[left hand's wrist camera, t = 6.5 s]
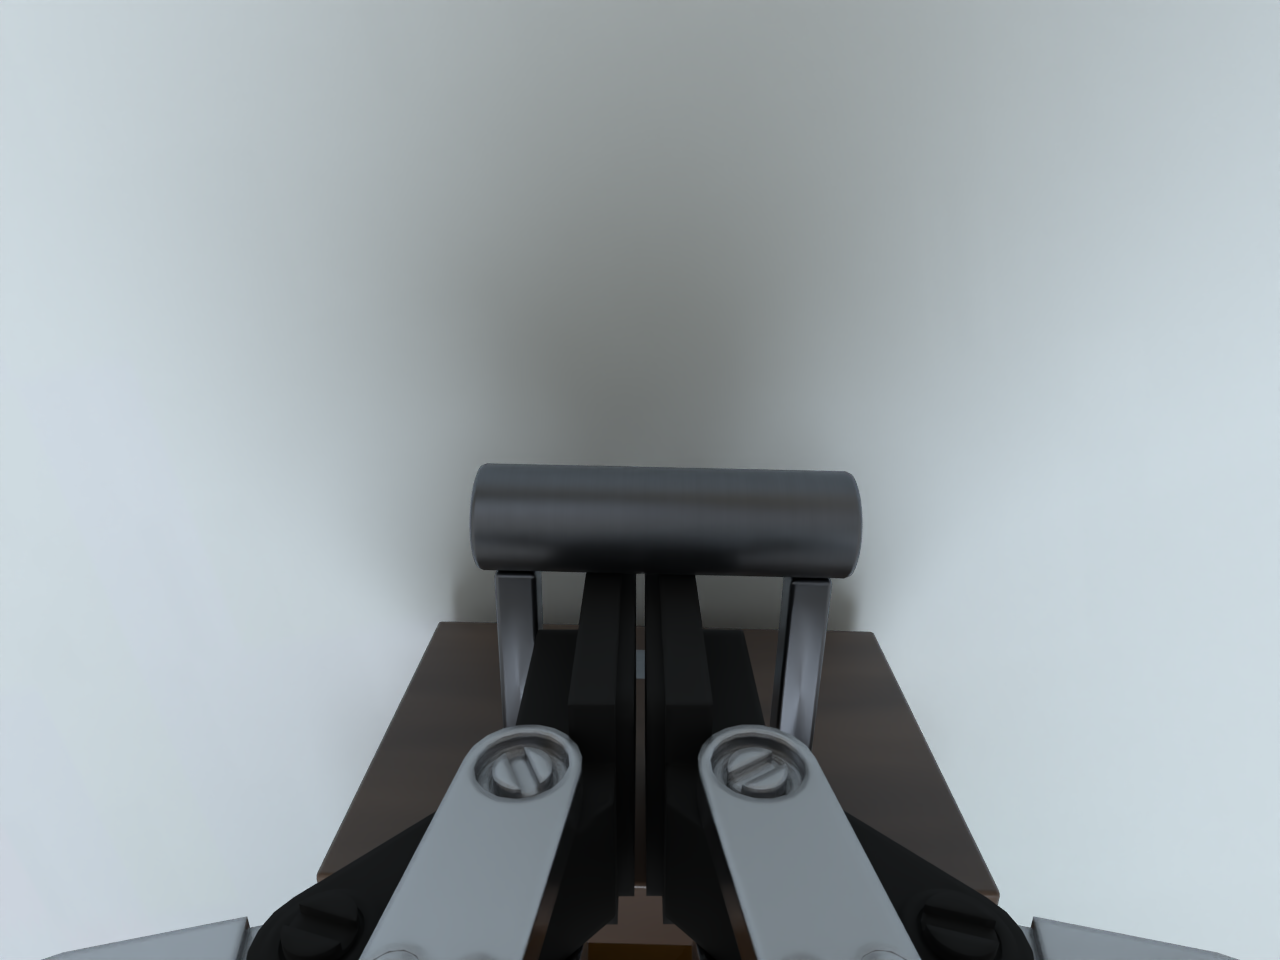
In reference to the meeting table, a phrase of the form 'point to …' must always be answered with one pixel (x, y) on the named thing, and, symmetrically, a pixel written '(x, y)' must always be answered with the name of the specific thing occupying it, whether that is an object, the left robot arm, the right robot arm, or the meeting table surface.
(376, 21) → the meeting table surface
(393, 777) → the drawer
